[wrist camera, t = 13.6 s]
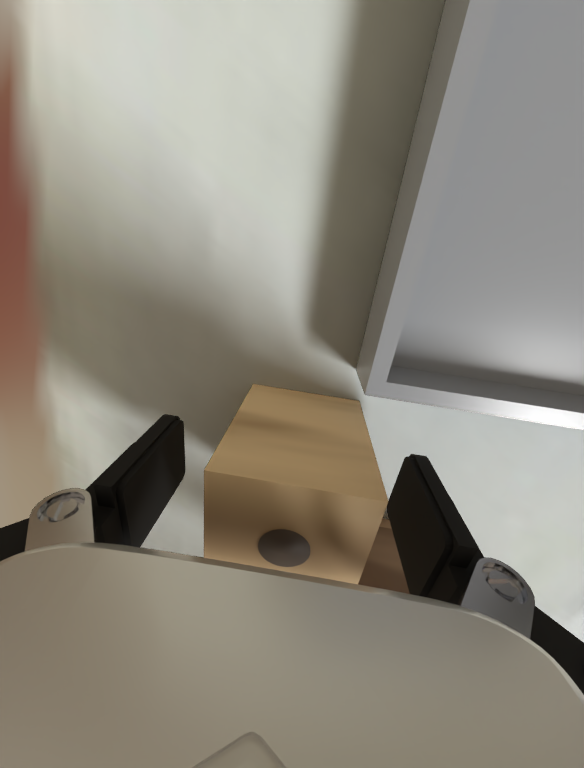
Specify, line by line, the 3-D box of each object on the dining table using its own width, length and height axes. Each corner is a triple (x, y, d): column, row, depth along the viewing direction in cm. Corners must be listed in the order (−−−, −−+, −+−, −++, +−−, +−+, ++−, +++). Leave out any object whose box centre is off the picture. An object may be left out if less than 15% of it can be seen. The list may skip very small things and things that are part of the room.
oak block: (337, 482, 15) (348, 612, 9) (246, 467, 15) (203, 585, 9) (359, 400, 13) (388, 503, 7) (253, 383, 13) (203, 471, 7)
